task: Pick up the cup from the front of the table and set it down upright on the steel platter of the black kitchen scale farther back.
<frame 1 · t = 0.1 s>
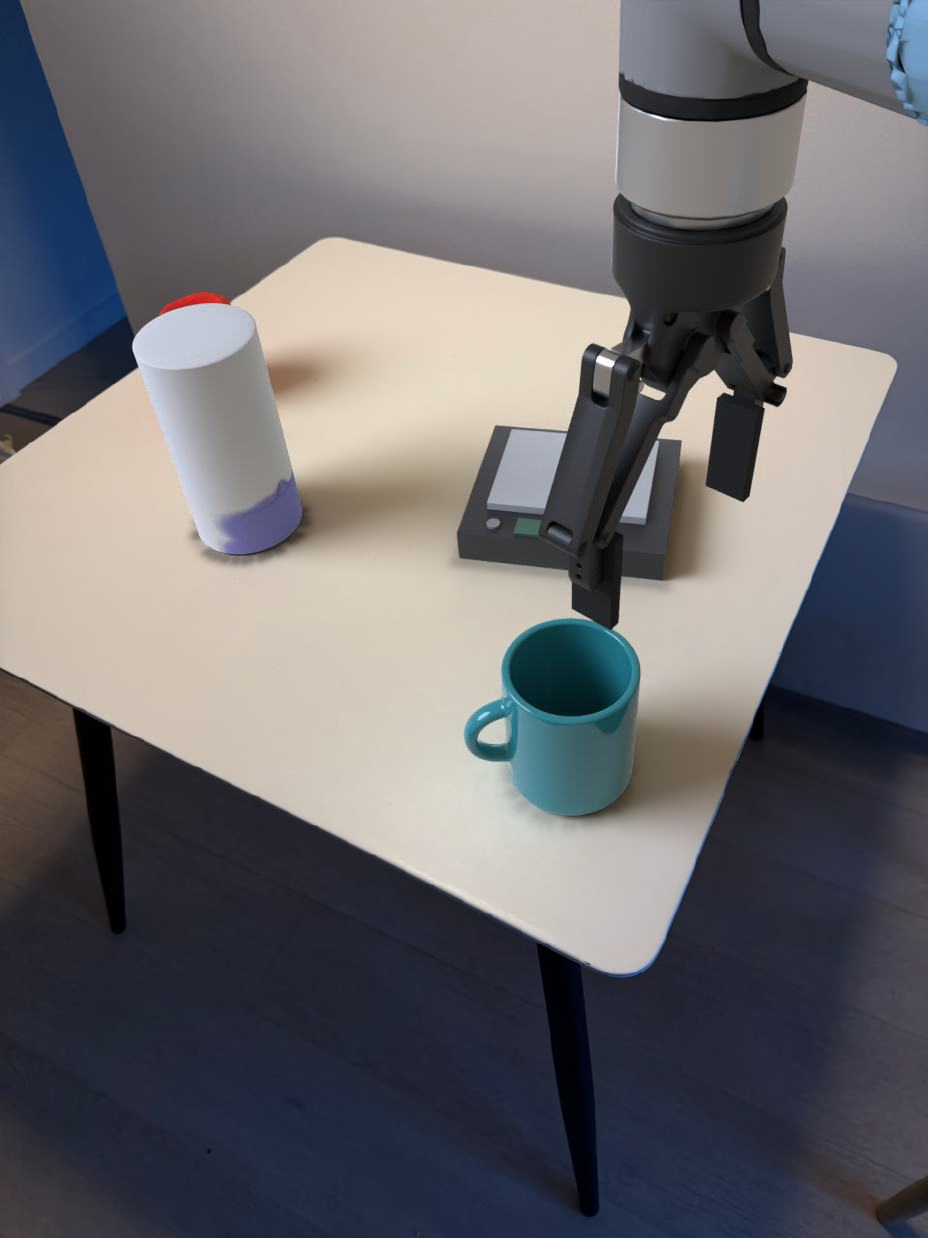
hand: (664, 550, 59), 20 cm above the table, tool pointing down, fingers open, 13 cm apart
scale: (573, 509, 92), on the table
container: (251, 521, 94), on the table
cup: (550, 772, 72), on the table
apple: (218, 393, 110), on the table
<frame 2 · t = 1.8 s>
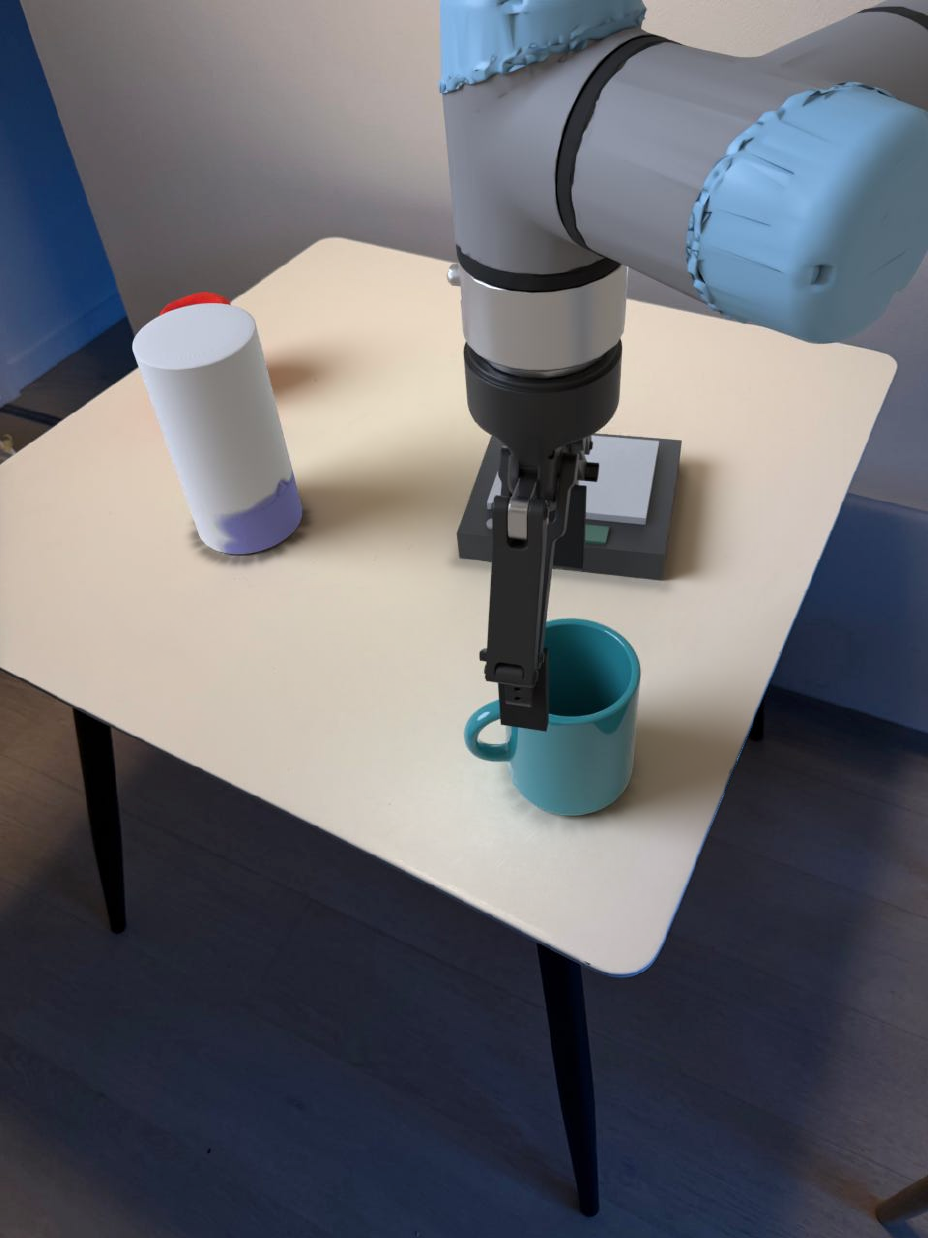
hand: (545, 637, 62), 14 cm above the table, tool pointing down, fingers open, 13 cm apart
nothing on the table moved.
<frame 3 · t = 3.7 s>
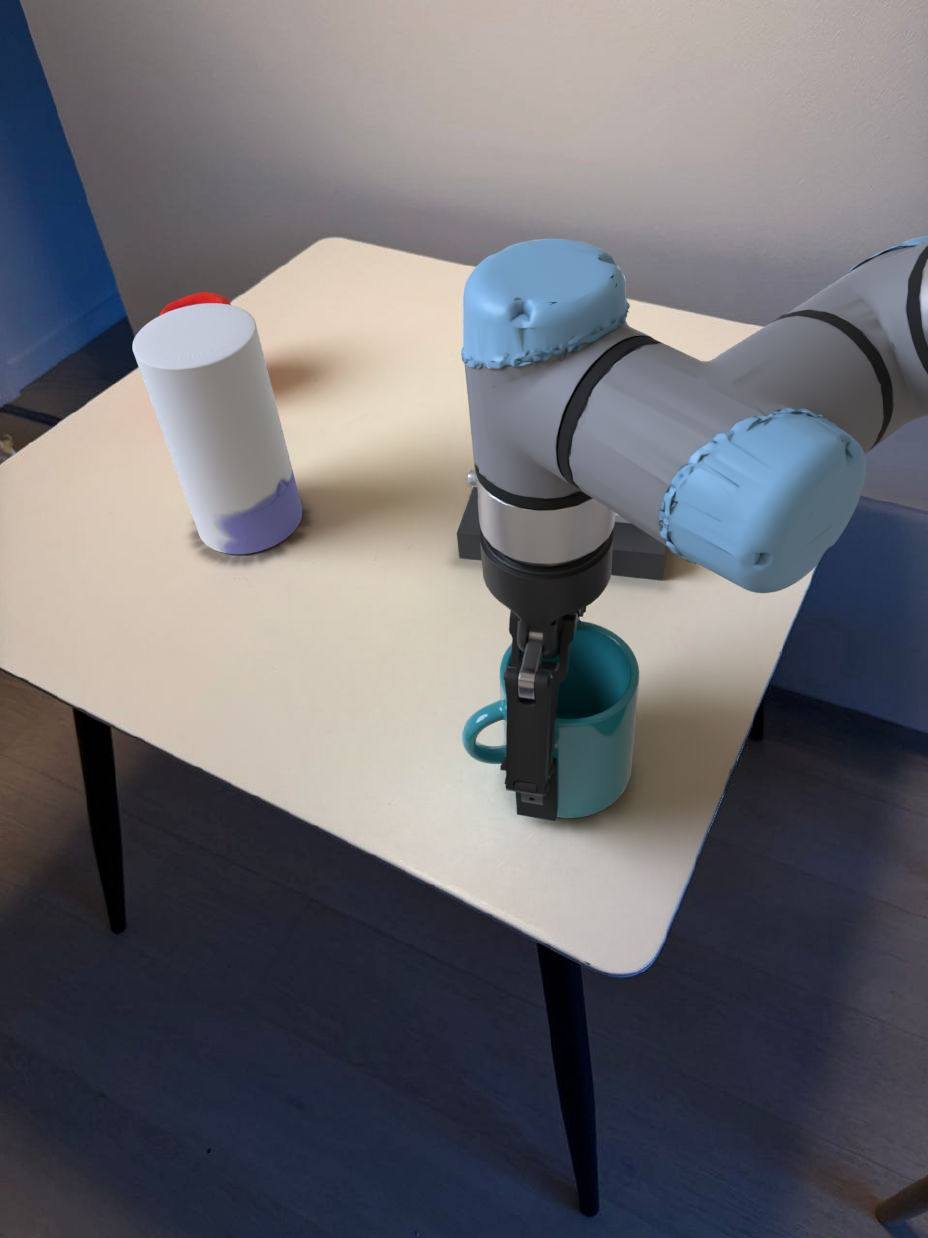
hand: (549, 755, 72), 1 cm above the table, tool pointing down, fingers closed on cup, 9 cm apart
cup: (548, 774, 72), on the table, touching gripper
everything else where it was.
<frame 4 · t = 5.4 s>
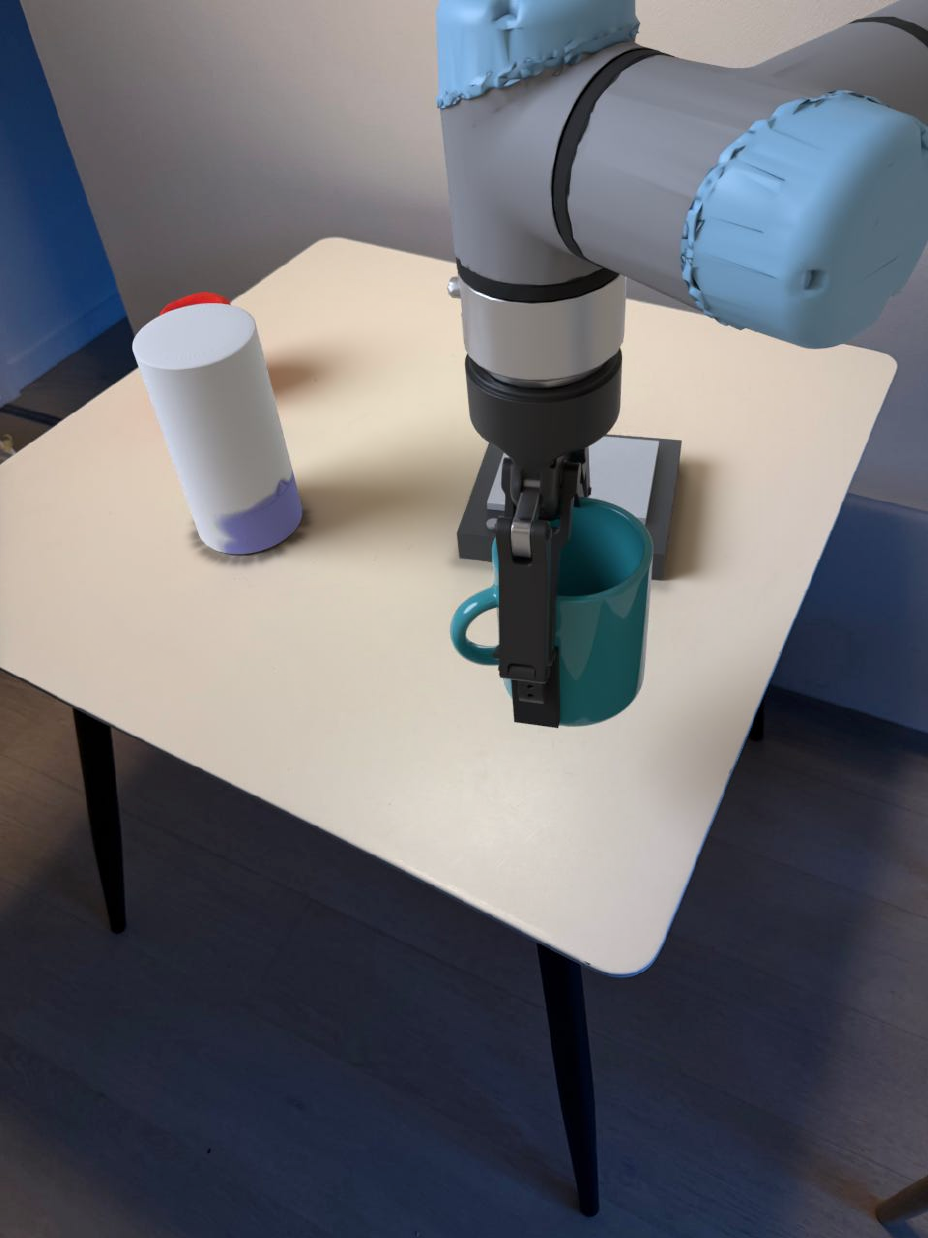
hand: (551, 660, 63), 13 cm above the table, tool pointing down, fingers closed on cup, 9 cm apart
cup: (550, 683, 64), point 11 cm above the table, touching gripper
everything else where it was.
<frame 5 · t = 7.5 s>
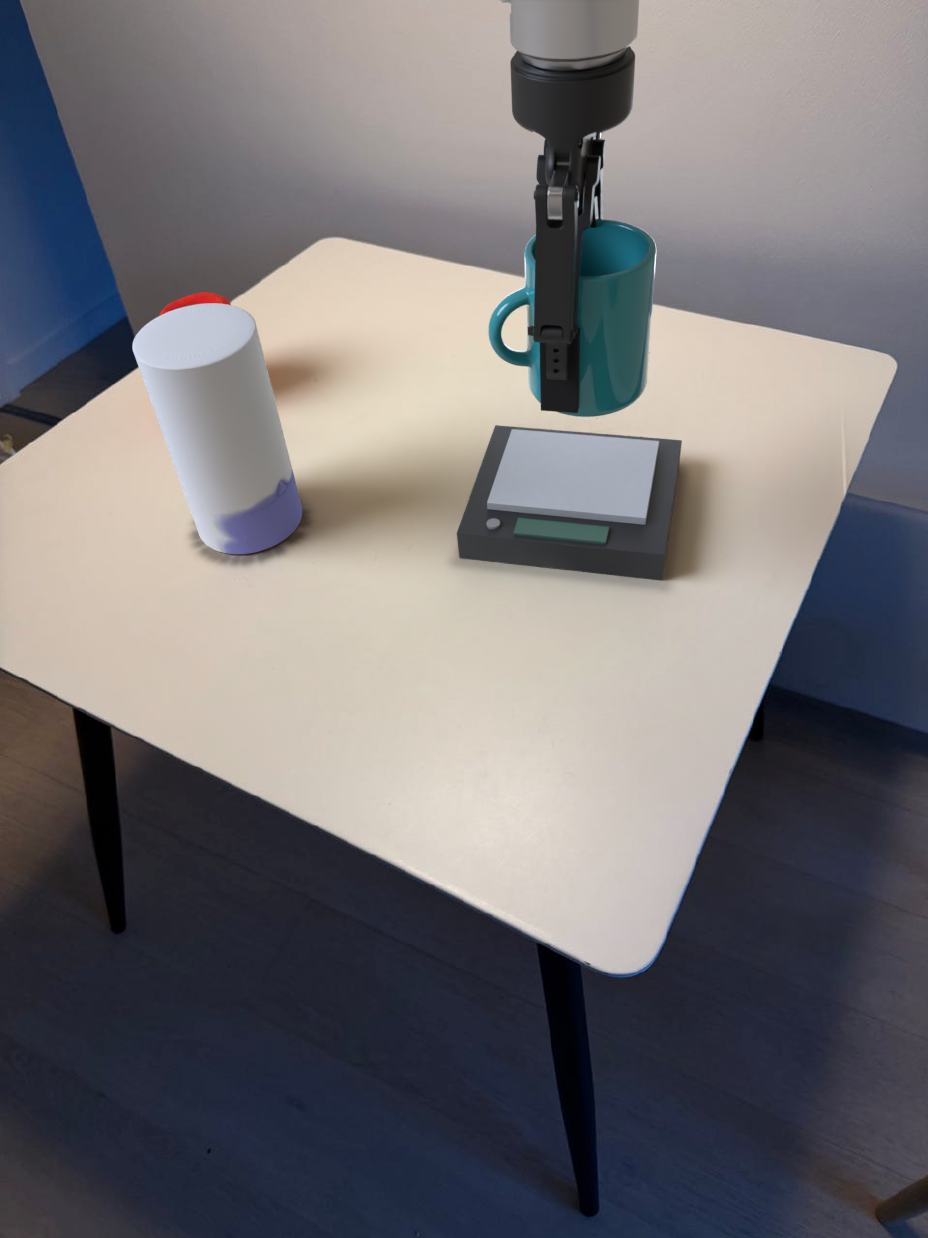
hand: (570, 371, 76), 18 cm above the table, tool pointing down, fingers closed on cup, 9 cm apart
cup: (568, 392, 76), point 17 cm above the table, touching gripper
everything else where it was.
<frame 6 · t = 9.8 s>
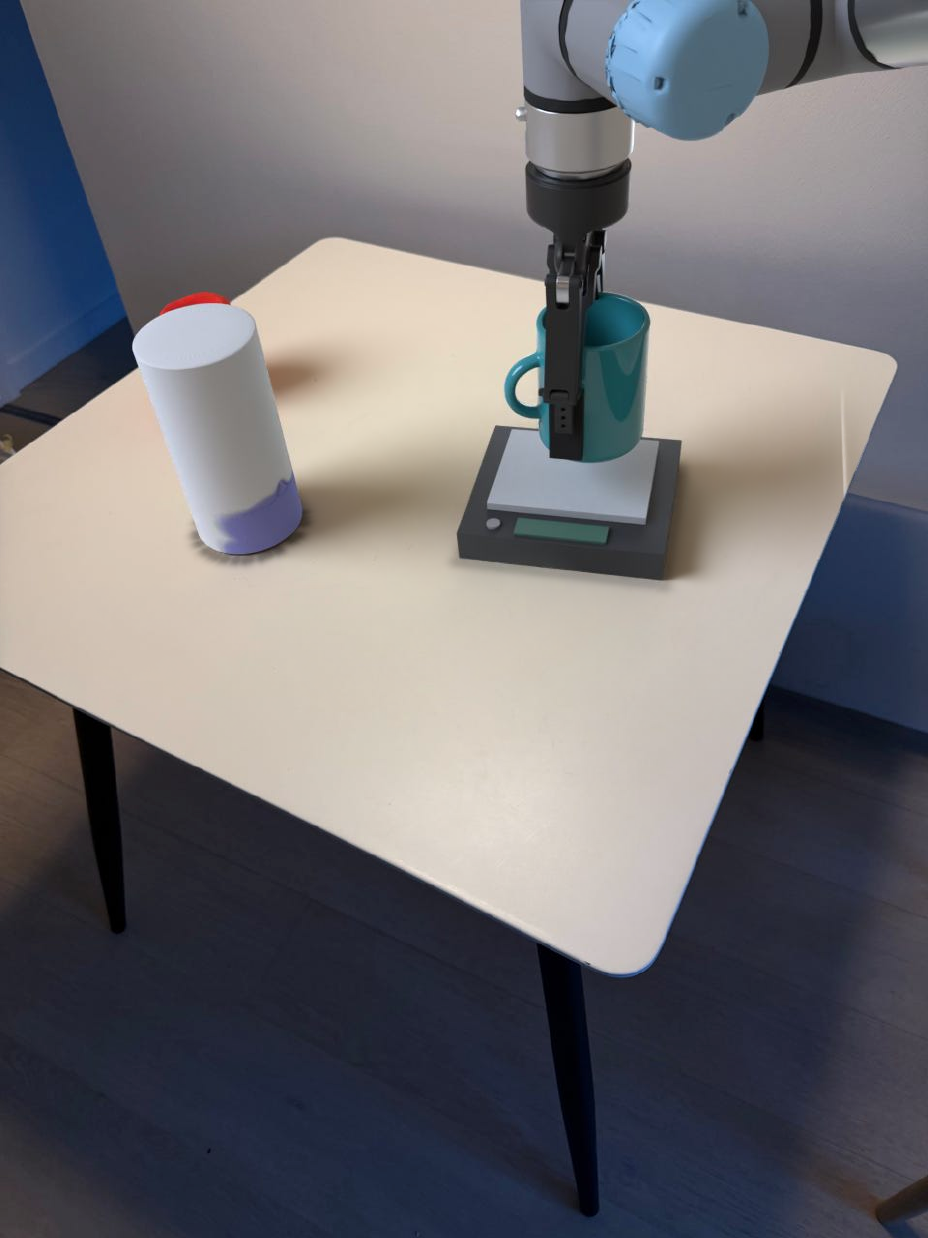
hand: (575, 422, 86), 9 cm above the table, tool pointing down, fingers closed on cup, 9 cm apart
cup: (574, 440, 87), point 8 cm above the table, touching gripper
everything else where it was.
when the fingers open (5 cm above the table, at t = 11.3 s): cup stays where it is, resting on scale.
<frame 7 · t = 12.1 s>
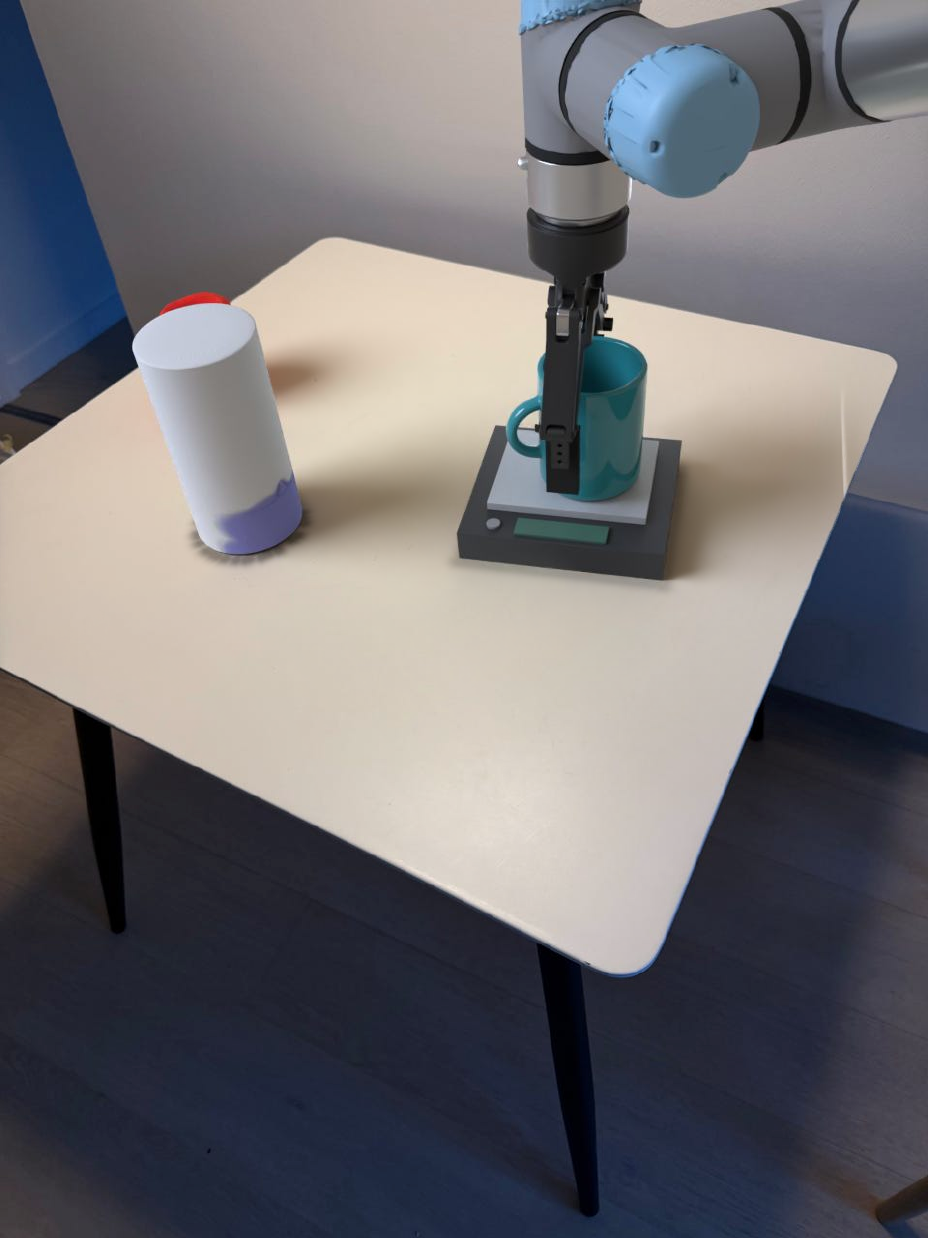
hand: (575, 442, 87), 7 cm above the table, tool pointing down, fingers open, 13 cm apart
cup: (573, 477, 90), point 4 cm above the table, touching scale
everything else where it was.
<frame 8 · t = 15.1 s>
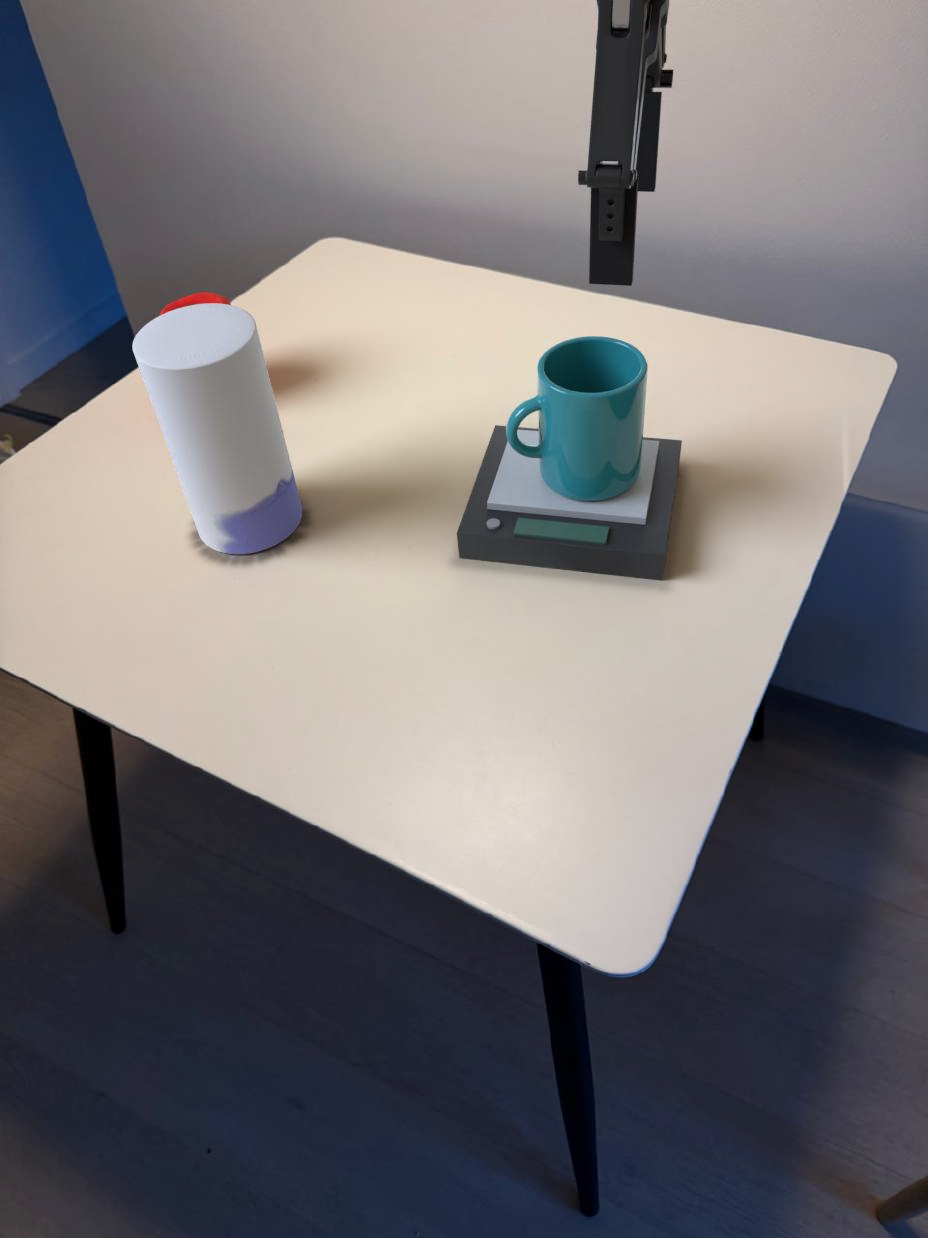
hand: (624, 233, 68), 29 cm above the table, tool pointing down, fingers open, 13 cm apart
nothing on the table moved.
at the end: cup inside the target area on the scale (0.9 cm from its centre), point 3.6 cm above the scale's base; cup tilted 0°; the gripper is holding nothing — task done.
